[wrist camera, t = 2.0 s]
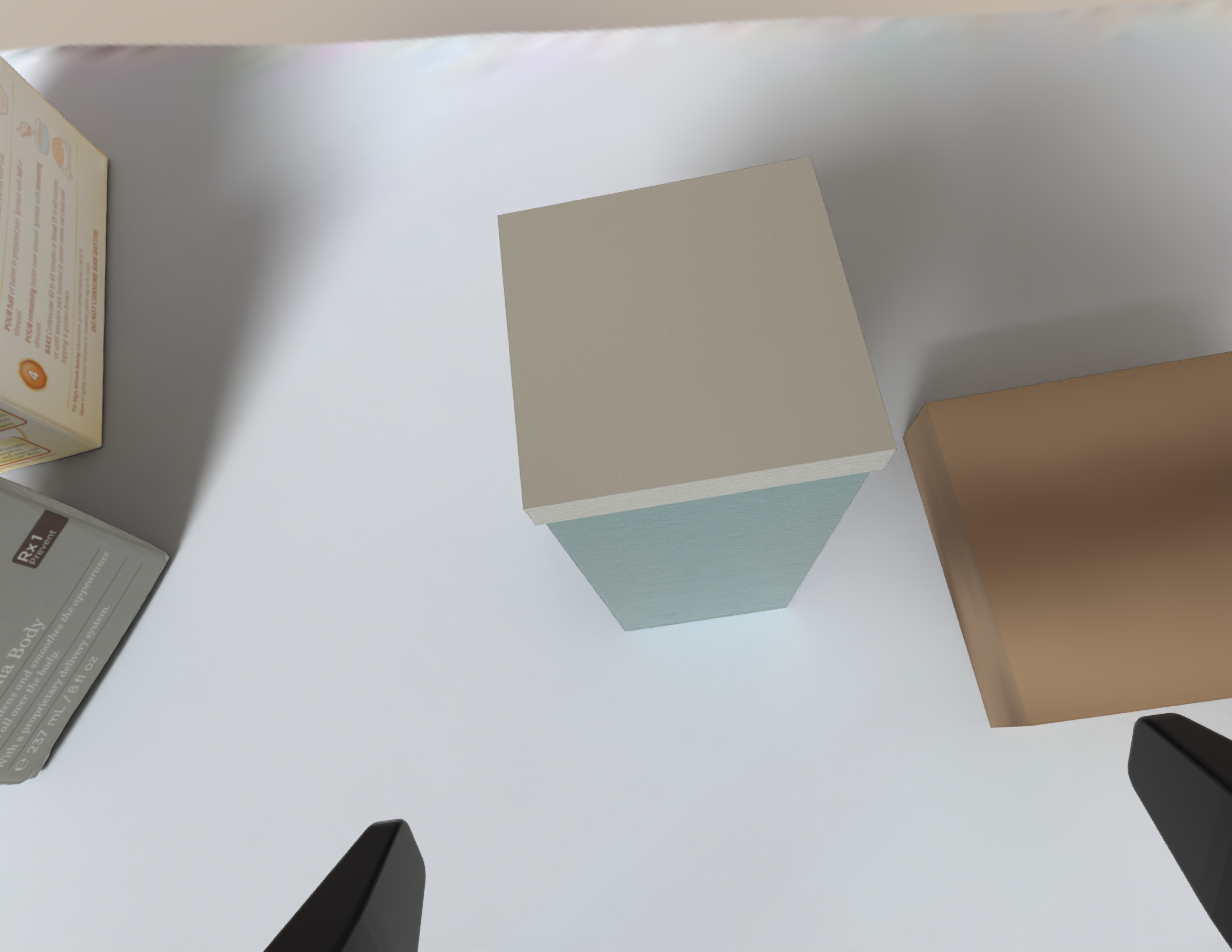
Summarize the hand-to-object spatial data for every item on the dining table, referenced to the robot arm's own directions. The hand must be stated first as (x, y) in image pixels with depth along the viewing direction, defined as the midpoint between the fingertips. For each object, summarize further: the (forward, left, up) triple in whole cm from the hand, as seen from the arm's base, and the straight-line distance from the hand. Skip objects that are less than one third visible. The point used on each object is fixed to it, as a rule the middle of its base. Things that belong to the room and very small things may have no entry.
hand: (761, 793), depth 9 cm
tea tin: (+6, +2, -13) cm, 14 cm away
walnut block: (+7, -10, -13) cm, 18 cm away
